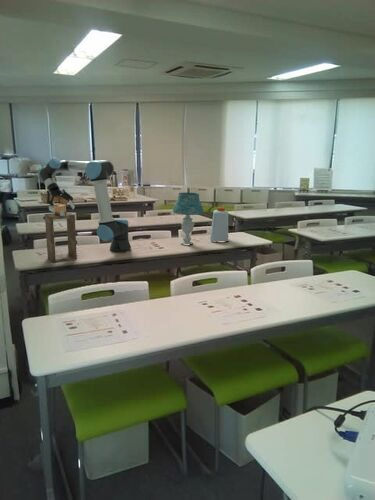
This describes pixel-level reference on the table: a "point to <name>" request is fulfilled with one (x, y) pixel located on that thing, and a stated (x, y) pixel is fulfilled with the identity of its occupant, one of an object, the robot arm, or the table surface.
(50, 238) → the stand
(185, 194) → the table lamp
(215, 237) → the plastic bottle
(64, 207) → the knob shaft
